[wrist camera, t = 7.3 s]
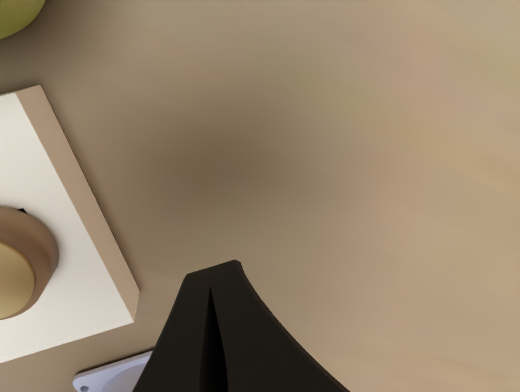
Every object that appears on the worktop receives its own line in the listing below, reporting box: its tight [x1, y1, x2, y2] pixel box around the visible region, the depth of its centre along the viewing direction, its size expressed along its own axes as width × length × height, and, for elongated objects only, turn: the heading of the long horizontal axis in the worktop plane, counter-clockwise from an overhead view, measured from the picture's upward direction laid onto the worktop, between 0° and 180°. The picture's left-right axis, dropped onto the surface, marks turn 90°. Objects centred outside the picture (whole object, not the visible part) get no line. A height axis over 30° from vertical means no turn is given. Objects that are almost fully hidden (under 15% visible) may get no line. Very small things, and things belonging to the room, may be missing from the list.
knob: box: [0, 207, 59, 320], centre depth 15 cm, size 4×4×5 cm
